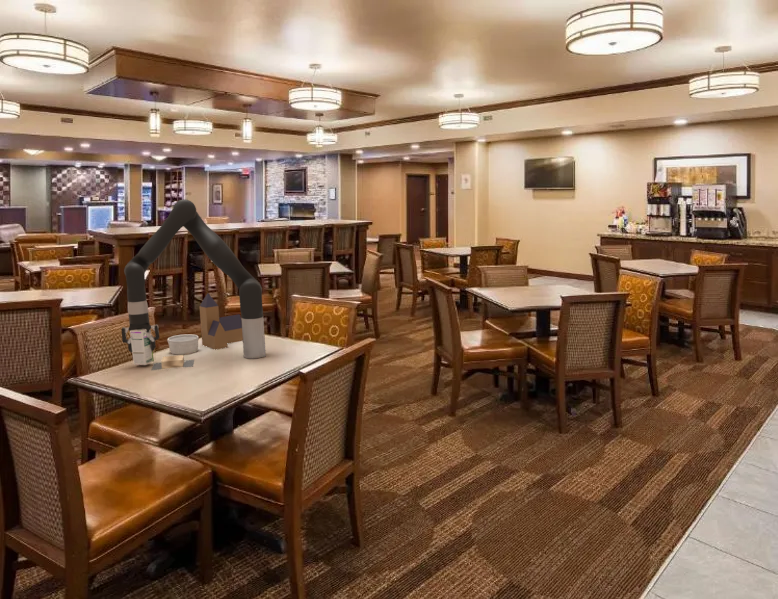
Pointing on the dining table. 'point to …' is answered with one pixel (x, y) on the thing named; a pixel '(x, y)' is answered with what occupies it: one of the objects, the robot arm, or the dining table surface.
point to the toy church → (218, 326)
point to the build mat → (186, 364)
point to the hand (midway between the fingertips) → (142, 351)
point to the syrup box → (141, 347)
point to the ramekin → (183, 344)
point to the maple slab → (172, 361)
